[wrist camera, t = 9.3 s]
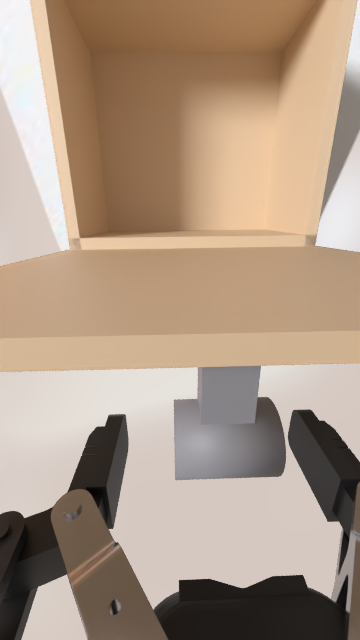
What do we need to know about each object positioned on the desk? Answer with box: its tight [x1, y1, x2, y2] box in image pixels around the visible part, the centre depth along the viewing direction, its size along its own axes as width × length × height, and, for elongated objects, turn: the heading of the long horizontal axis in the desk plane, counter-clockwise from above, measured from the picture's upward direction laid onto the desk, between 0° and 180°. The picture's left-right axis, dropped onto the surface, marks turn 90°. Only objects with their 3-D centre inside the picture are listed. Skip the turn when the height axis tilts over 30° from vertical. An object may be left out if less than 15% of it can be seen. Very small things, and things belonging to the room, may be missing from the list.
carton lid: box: [0, 246, 360, 480], centre depth 13 cm, size 16×18×6 cm
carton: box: [30, 0, 357, 250], centre depth 21 cm, size 16×18×10 cm
